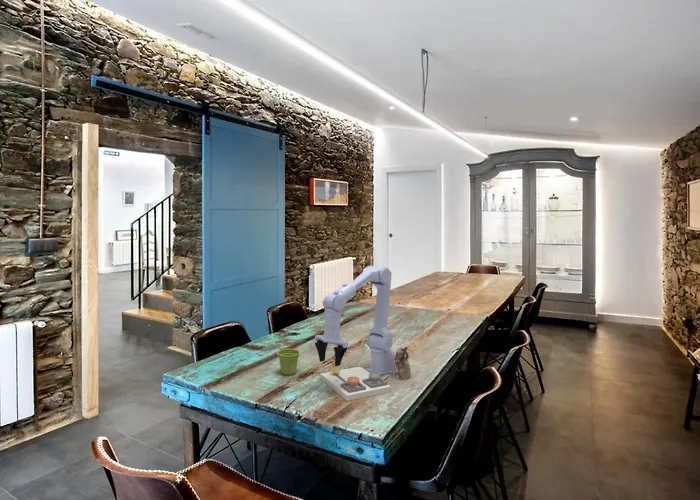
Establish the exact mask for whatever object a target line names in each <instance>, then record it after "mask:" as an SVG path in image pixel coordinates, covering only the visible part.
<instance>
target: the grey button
mask: <svg viewBox="0 0 700 500" xmlns="http://www.w3.org/2000/svg"><path fill="white" fill-rule="evenodd" d="M369 373H370V374H369V380H370V381H373V382H377V381H380V380H381V379H382V378H381V374H379V373H371V372H369Z"/></svg>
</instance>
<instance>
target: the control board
mask: <svg viewBox="0 0 700 500" xmlns="http://www.w3.org/2000/svg"><path fill="white" fill-rule="evenodd" d="M370 373H371V372H370V371H368V370H367V369H365V368H363V367H362V366H356V367H351V368H343V369H340V374H334V375H333V374H331V373H330V371H327V372H323V373H320V374H319V375H320V380H321V381H323V382H324V383H325V384H326V385H327V386H329V388H331V389H332V390H334V391H335V393H337V394H338V395H339V396H340V397H342V398H343V399H344V400H345V401H347V402H349V401H350V402H351V401H353V400H359V399H363V398H367V397H373V396H377V395H381V394H382V395H383V394H386V393H387V394H388V393H391V392H392V386H391V385H389V384H388V382H387V381H386V380H384V379H382V378H381V380H380V381H377V382H373V381H370V380H369V374H370ZM349 377H358V378H359V385H357V386H349V385H348V384H347V378H349Z"/></svg>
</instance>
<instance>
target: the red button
mask: <svg viewBox="0 0 700 500" xmlns="http://www.w3.org/2000/svg"><path fill="white" fill-rule="evenodd" d="M347 384H348V385H349V386H357V385H359V378H358V377H349V378H347Z"/></svg>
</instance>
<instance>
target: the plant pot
mask: <svg viewBox="0 0 700 500" xmlns="http://www.w3.org/2000/svg"><path fill="white" fill-rule="evenodd" d="M276 354H277V357H278V359H279V366H280V373H281V374H282V375H285V376H292V375H294V374H296V373H297V368H298V359H299V356H300V354H301V351H300V350H299V349H296V348H284V349H280V350H278V351H277V352H276Z"/></svg>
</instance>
